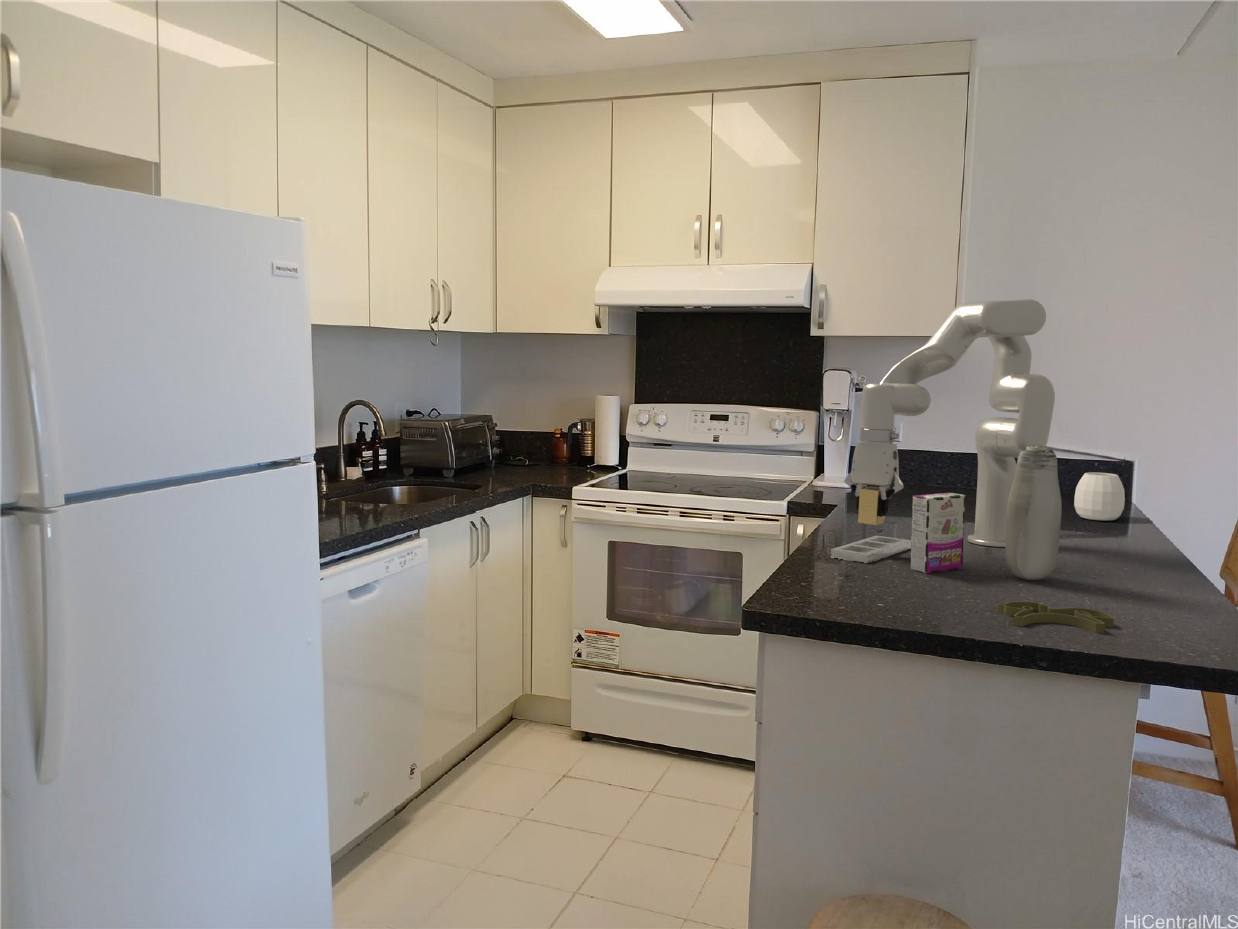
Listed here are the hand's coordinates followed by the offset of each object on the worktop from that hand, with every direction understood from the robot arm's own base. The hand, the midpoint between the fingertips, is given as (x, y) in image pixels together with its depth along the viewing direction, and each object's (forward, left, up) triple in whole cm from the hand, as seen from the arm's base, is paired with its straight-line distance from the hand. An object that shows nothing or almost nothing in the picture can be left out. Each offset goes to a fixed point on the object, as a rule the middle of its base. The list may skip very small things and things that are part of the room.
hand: (871, 513), depth 214 cm
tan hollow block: (0, 0, -2) cm, 2 cm away
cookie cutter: (-49, +33, -10) cm, 60 cm away
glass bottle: (-36, +2, -10) cm, 37 cm away
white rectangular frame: (0, 0, -9) cm, 9 cm away
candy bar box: (-18, +7, -10) cm, 22 cm away
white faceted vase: (-27, -95, -10) cm, 100 cm away
